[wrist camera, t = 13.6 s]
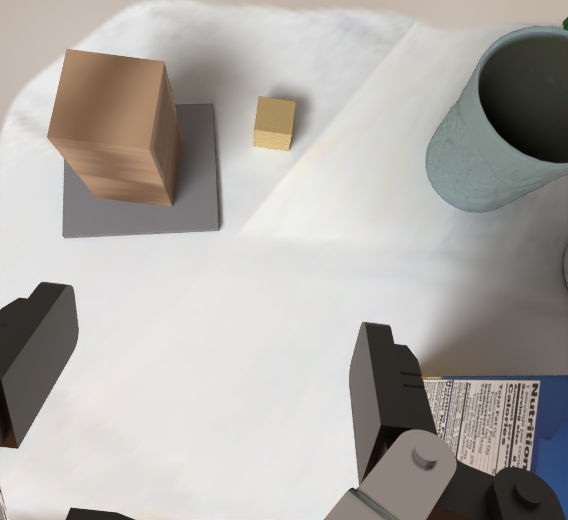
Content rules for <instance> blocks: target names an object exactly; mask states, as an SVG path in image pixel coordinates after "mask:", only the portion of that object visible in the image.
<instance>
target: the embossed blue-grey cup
mask: <svg viewBox="0 0 568 520" xmlns="http://www.w3.org/2000/svg"><path fill="white" fill-rule="evenodd" d="M426 171H427V175H428V178H429V181H430V182H431V184H432V186H433V188H434V189H435V191H436V192H437V193H438V194H439V195H440V196H441V197H442V198H443V199H444V200H445V201H446V202H448V203H449V204H451V205H452V206H454V207H456V208H458V209H461V210H464V211H468V212H486V211H490V210H494V209H497V208H499V207H501V206H503V205H505V204H507V203H509V202H511V201H513V200H515V199H517V198H519V197H521V196H523V195H525V194H527V193H528V192H531V191H534V190H536V189H538V188H540V187H542V186H544V185H546V184H548V183H550V182H552V181H554V180H556V179H558V178H560V177H562V176H563V175H566V174H568V31H567V30H563V29H559V28H555V27H542V26H534V27H528V28H523V29H520V30H517V31H514V32H511V33H509V34H506V35H504V36H502V37H501V38H499V39H498V40H497V41H495V42H494V43H493V44H492V45H491V46H490V47H489V49H488V50H487V51H486V52H485V53H484V55H483V56H482V58H481V59H480V61H479V63H478V65H477V66H476V68H475V70H474V72H473V74H472V76H471V78H470V80H469V81H468V83H467V85H466V86H465V88H464V90H463V92H462V94H461V96H460V98H459V100H458V101H457V103H456V104H455V105H454V106H453V107H452V108H451V109H450V111H449V113H448V114H447V116H446V117H445V119H444V120H443V122H442V123H441V125H440V126H439V128H438V129H437V131H436V133H435V134H434V136H433V138H432V139H431V141H430V143H429V145H428V148H427V153H426Z"/></svg>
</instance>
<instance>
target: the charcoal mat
mask: <svg viewBox="0 0 568 520" xmlns="http://www.w3.org/2000/svg"><path fill="white" fill-rule="evenodd" d="M175 108H176V112H177V116H178V120H179V124H180V128H181V132H182V136H183V142H182V148H181V155H180V161H179V168H178V174H177V181H176V187H175V194H174V200H173V207H170V206H161V205H153V204H144V203H135V202H126V201H118V200H109V199H100V198H96V197H95V196H94V194H93V193H92V192H91V191H90V190H89V188H88V187H87V186H86V185H85V183H84V182H83V181H82V180H81V178H80V177H79V176H78V175H77V173H76V172H75V171H74V170H73V169H72V167H71V166H70V165H69V164H68V162H67V161H66V160H65V159H64V194H63V235H62V236H63V237H64V238H78V237H99V236H120V235H141V234H161V233H182V232H203V231H219V223H218V202H217V181H216V160H215V139H214V118H213V104H185V105H175Z"/></svg>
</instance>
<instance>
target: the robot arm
mask: <svg viewBox="0 0 568 520" xmlns="http://www.w3.org/2000/svg"><path fill="white" fill-rule="evenodd" d="M563 266H564V276H565V280H566V283H567V286H568V246H567V249H566V252H565V256H564V265H563ZM78 332H79V328H78V319H77V311H76V303H75V295H74V289H73V287H72V286H71V285H65V284H57V283H49V282H41V283H40V284H39V285H38V286H37V288H36V289H35V290H34V291H33V293H32V294H31V295H30V296H29V298H28V299H26V298H18V299H16V300H15V301H13V302H11V303H10V304H8V305H6V306H5V307H3V308H2V309H1V310H0V447H8V448H17V449H18V448H19V446H20V444H21V443H22V441H23V439H24V437H25V436H26V434H27V432H28V430H29V429H30V427H31V425H32V423H33V422H34V420H35V418H36V416H37V414H38V413H39V411H40V409H41V407H42V406H43V404H44V402H45V400H46V399H47V397H48V395H49V393H50V392H51V390H52V388H53V386H54V385H55V383H56V381H57V379H58V378H59V376H60V374H61V372H62V371H63V369H64V367H65V365H66V364H67V362H68V360H69V358H70V357H71V355H72V353H73V351H74V349H75V347H76V344H77V340H78ZM421 375H422V374H421V371H420V367H419V363H418V360H417V358H416V357H415V356H414V354H413V353H412V352H411V351H410V349H409V348H408V347H407V345H398V344H394V340H393V336H392V331H391V327H390V326H389V325H385V324H377V323H369V322H362V324H361V327H360V330H359V334H358V338H357V341H356V345H355V349H354V353H353V356H352V360H351V365H350V373H349V387H350V397H351V407H352V417H353V427H354V438H355V448H356V458H357V468H358V478H359V487H358V488H357V489H354V488H351V489H349V490H348V491H347V492H346V493H345V494H344V496H343V497H342V498H341V499H340V501H339V502H338V503H337V504H336V505H335V507H334V508H333V509H332V510H331V512H330V513H329V514H328V515H327V516H326V518H325V519H324V520H566V517H565V515H564V512H563V510H562V507H561V504H560V502H559V500H558V497H557V495H556V494H555V492H554V491H553V489H552V488H551V487H550V486H549V485H548V484H547V483H546V482H545V481H544V480H543V479H541V478H540V477H539V476H537V475H536V474H534V473H532V472H530V471H528V470H525V469H523V468H518V467H506V468H503V469H501V470H500V471H499V472H498V473H497V474H496V476H493V475H490V474H488V473H485V472H483V471H480V470H478V469H475V468H473V467H470V466H468V465H466V464H464V463H462V462H461V461H459V460H458V459H456V458H455V455H454V453H453V451H452V449H451V448H450V447H449V445H448V444H447V443H446V442H445V441H444V440H442V439H441V438H440V437H438V434H437V430H436V427H435V423H434V419H433V415H432V412H431V408H430V404H429V400H428V397H427V393H426V390H425V386H424V382H423V378H422V377H421ZM0 520H9V518H8V514H7V510H6V506H5V502H4V499H3V495H2V491H1V487H0ZM66 520H134V519H132V518H129V517H127V516H124V515H122V514H119V513H116V512H107V511H97V510H88V509H79V508H70V510H69V513H68V515H67V518H66Z"/></svg>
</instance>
